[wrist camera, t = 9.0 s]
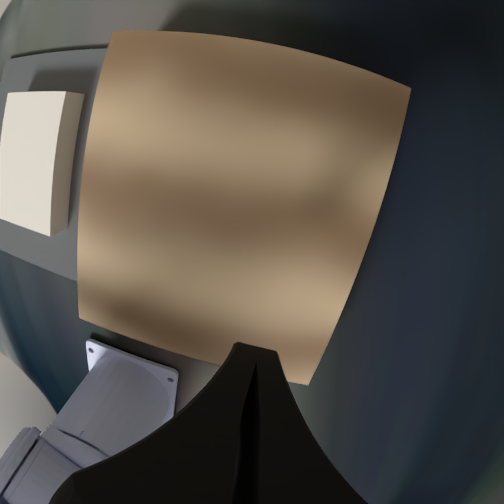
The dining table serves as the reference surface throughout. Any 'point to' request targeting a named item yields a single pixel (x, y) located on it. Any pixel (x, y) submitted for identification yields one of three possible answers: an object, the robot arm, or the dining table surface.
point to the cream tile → (38, 158)
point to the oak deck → (230, 193)
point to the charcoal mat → (84, 82)
